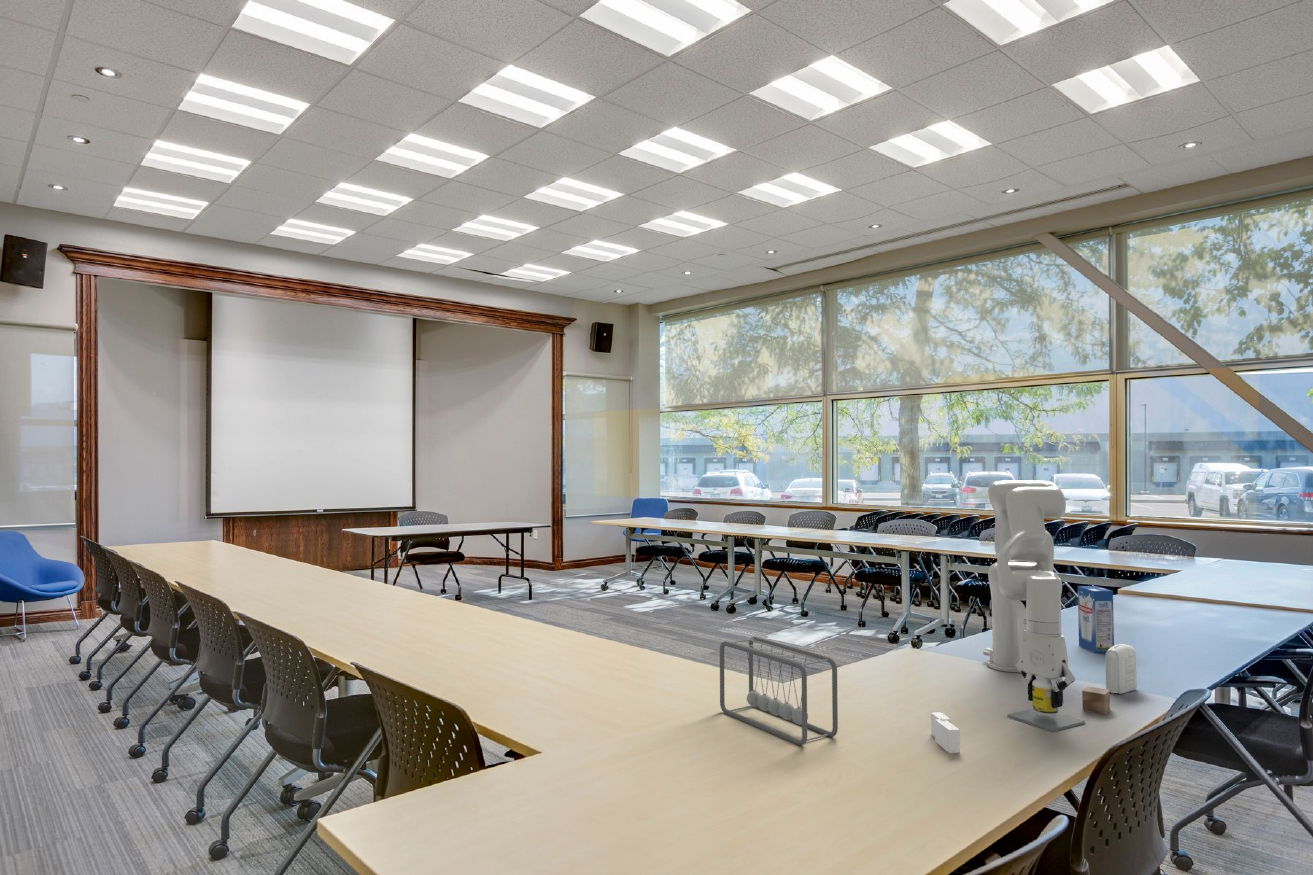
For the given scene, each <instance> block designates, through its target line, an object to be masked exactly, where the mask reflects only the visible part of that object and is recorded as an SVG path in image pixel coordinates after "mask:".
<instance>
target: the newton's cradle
mask: <svg viewBox="0 0 1313 875" xmlns="http://www.w3.org/2000/svg"><path fill="white" fill-rule="evenodd" d="M744 642H748V645H743V644H741V643H744ZM754 643H756V646H758V645H760V648H755V647H754ZM763 645H764V646H767V649H769V648H771V650H770V652H767V651H764V650H763V649H765V647H764V648H763ZM726 647H728V648H731V649H734V650H738V651H742V652H745V653H746V654H747V656H748V657H747V661H748V693H747V696H746V702H747V703H748V705H746V706H743V707H738V708H733V709H728V708H727V707H726V704H725V703H726V702H725V648H726ZM773 648H774V649H777V650H778V652H781V651H782V653H781V655H778V654H775V653H776V652H777V650H774V651H773ZM784 651H785V652H787V653H789V654H786V656H788V655H790V654H791V655H798V656H801V657H797V658H796V657H795V656H792V657H793V658H787V657H784V656H785V654H784ZM754 656H756V657H758V658H757V662H758V667H757V673H756V674H757V675H756V679H758V677H759V676H758V675H759V674H760V681H761V683H763V680H762V673H761V671H760V670H761V666H760V662H761V658H764V659H767V660H768V661H767V662H768V666H769V667H768V671H769V672H768V673H767V681H766V682H767V683H766V686H768V684H769V677H770V680H771V686H772V693H773V698H772V697H771V696H770V695H768V694H767V691H768V687H765V688H766V689H765V690H766V691H765V690H764V685H763V684H761V686H762V687H761V688H762V694H761V693H760V692H759V691H758V690H757V686H758V685H757V684H758V680H756V682H755V688H754ZM801 658H802V659H803V658H804V662H802V661H798V660H797V659H801ZM807 658H808V659H811V660H815V661H811V662H810V661H809V662H806V661H807ZM771 661H773V662H776V663H779V673H780V674H779V676H778V682H777V683H778V684H777V693H776V696H778V694H779V686H780V679H781V678H783V675H782V674H783V673H782V664H783V665H785V666H790V668H791V674H790V682H789V686H791V684H792V681H793V687H794V692H795V698H796V704H797V707H795V706H794V705H793V704H792V703H790V702H789V700H790V695H788V698H786V695H785V688H784V680H783V679H781V683H782V689H783V695H784V696H783V697H784V702H783V701H782V700H781V699H779V698H778V697H775V689H774V685H773V677H772V670H771V663H772V662H771ZM823 662H827V663H828V664H829V665H830V666H831V687H832V688H831V691H832V693H831V694H832V696H831V697H832V700H831V702H832V705H831V706H832V710H831V711H832V730H831V731H829V730H827V729H824V728H821V727H819V726H817V725H815V724H811V723H809V722H808V719H809V714H808V713H809V712H808V676H807V670H806V666H808V665H809V666H810V665H813V664H819V663H823ZM793 668H796V669H798V670H799V671H800V675H801V695H800V696H801V698H800V703H801V704H800V705H799V702H798V696H797V690H796V684H795V679H794V672H793ZM764 691H765V692H764ZM790 692H791V687H789V689H788V694H790ZM786 699H787V701H786ZM838 705H839V704H838V666H837V663H836V661H835V660H834V659H833V658H831V657H830V656H826V655H823V654H819V653H816V652H812V651H809V650H805V649H802V648H797V647H794V646H790V645H788V644H783V643H780V642H776V641H774V640H770V639H765V638H762V637H758V636H752V637H750V638H747V639H742V640H740V639H739V640H735V641H728V640H726V641H722V642H721V644H720V646H719V706H720V709H721V711H722V712H723V713H724V714H725V715H727V716H730V717H732V718H735V719H737V720H739V721H741V722H744V723H746V724H748V725H750V726H753V727H755V728H758V729H760V730H762V731H765V732H767V733H770V734H772V735H775V736H776V737H779V738H782V739H783V740H785V741H788V742H791V743H793V742H794V743H793V744H795V743H796V744H795V745H797V744H798V746H805V744H806V743H807V742H809V741H813V740H817V739H820V738H824V737H829V738H833V737H834V738H835V736H836V735H837V733H838V728H839V726H838V724H839V722H838V720H839V718H838V716H839V712H838V711H839V710H838V709H839V708H838ZM753 707H754V708H756V709H758V710H761V711H763V712H766V713H768V714H771V715H772V716H776V717H778V718H781V719H784V720H786V721H788V722H791V723H794V724H796V725H799V726H801V739H798V738H796V737H794V736H791V735H790V734H787V733H784V732H782V731H780V730H777V729H776V728H775V729H774V728H772V727H771V726H768V725H765V724H763V723H761V722H758V721H757V720H756V721H755V720H754V719H751V718H748V717H747V716H744V715H741V714H739V713H737V712H736V711H739V710H744V709H748V708H753ZM808 730H811V731H813V732H816V733H818V734H821V735H818V736H814V737H810V738H808Z"/></svg>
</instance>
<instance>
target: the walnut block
mask: <svg viewBox="0 0 1313 875" xmlns="http://www.w3.org/2000/svg"><path fill="white" fill-rule="evenodd" d="M1081 692H1082V693H1081V694H1082V696H1081V697H1082V700H1081V701H1082V711H1083V710H1084V711H1083V712H1089V713H1093V712H1094V714H1100V715H1105V716H1106V715H1107V714H1108V713H1109V712H1110V710H1111V702H1110V701H1111V695H1110V694H1111V693H1110V690H1107V689H1106V688H1100V687H1094V686H1090V685H1086V686H1085V687H1084V688H1083V689H1082V691H1081Z"/></svg>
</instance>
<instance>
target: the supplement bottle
mask: <svg viewBox="0 0 1313 875" xmlns="http://www.w3.org/2000/svg"><path fill="white" fill-rule="evenodd" d="M1035 677H1036V679H1035V680H1033V682H1032V692H1033V701H1032V709H1033V711H1034V712H1035V713H1037V714H1039V715H1043V716H1055V715H1057V714H1058V713H1059V707H1058V708H1052V706H1051V691H1053V690H1054V689H1053V686H1052V683H1051V679H1048V678H1044V677H1040V676H1037V675H1035Z"/></svg>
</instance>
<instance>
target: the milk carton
mask: <svg viewBox="0 0 1313 875" xmlns="http://www.w3.org/2000/svg"><path fill="white" fill-rule="evenodd" d="M1077 606H1078V607H1077V612H1078V613H1077V616H1078V617H1077V620H1078V621H1077V622H1078V647H1080V646H1081V647H1080V648H1083V649H1085V648H1086V649H1085V650H1086V651H1089V650H1091V651H1090V652H1092V651H1093V653H1095V654H1106V652H1107V651H1108V650H1109V649H1110V648H1111V647H1113V646H1115V626H1114V624H1115V623H1114V590H1111V589H1107V588H1104V587H1099V586H1094V585H1093V586H1091V585H1090V586H1087V585H1085V586H1083V585H1080V586H1079V585H1078V586H1077Z"/></svg>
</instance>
